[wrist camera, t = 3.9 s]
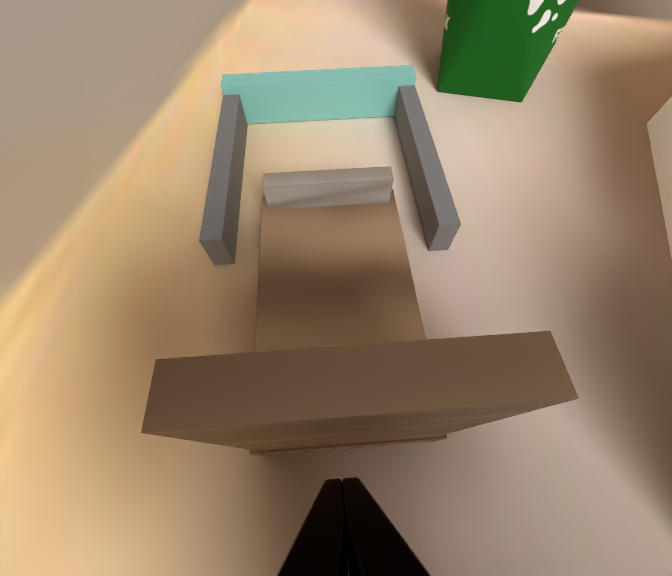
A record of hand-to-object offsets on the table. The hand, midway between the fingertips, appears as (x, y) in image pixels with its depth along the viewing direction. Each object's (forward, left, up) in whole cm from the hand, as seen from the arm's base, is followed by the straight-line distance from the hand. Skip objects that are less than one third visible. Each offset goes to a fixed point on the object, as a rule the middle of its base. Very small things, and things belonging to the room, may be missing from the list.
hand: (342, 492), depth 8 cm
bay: (+1, -19, -7) cm, 20 cm away
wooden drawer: (0, -8, -7) cm, 11 cm away
